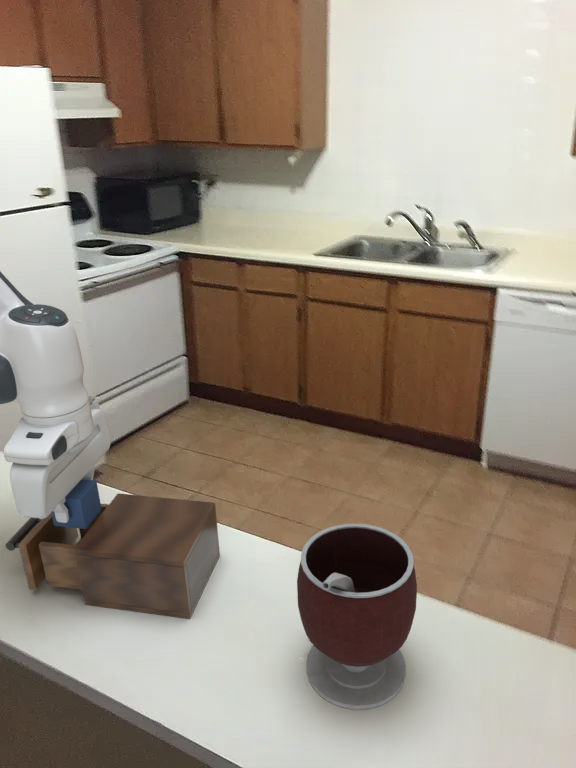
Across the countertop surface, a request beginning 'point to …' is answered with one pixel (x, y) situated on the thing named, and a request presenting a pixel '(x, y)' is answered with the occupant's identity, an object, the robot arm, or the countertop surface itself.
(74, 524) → the block
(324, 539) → the mate gourd
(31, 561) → the drawer
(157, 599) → the cabinet
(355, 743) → the countertop surface
